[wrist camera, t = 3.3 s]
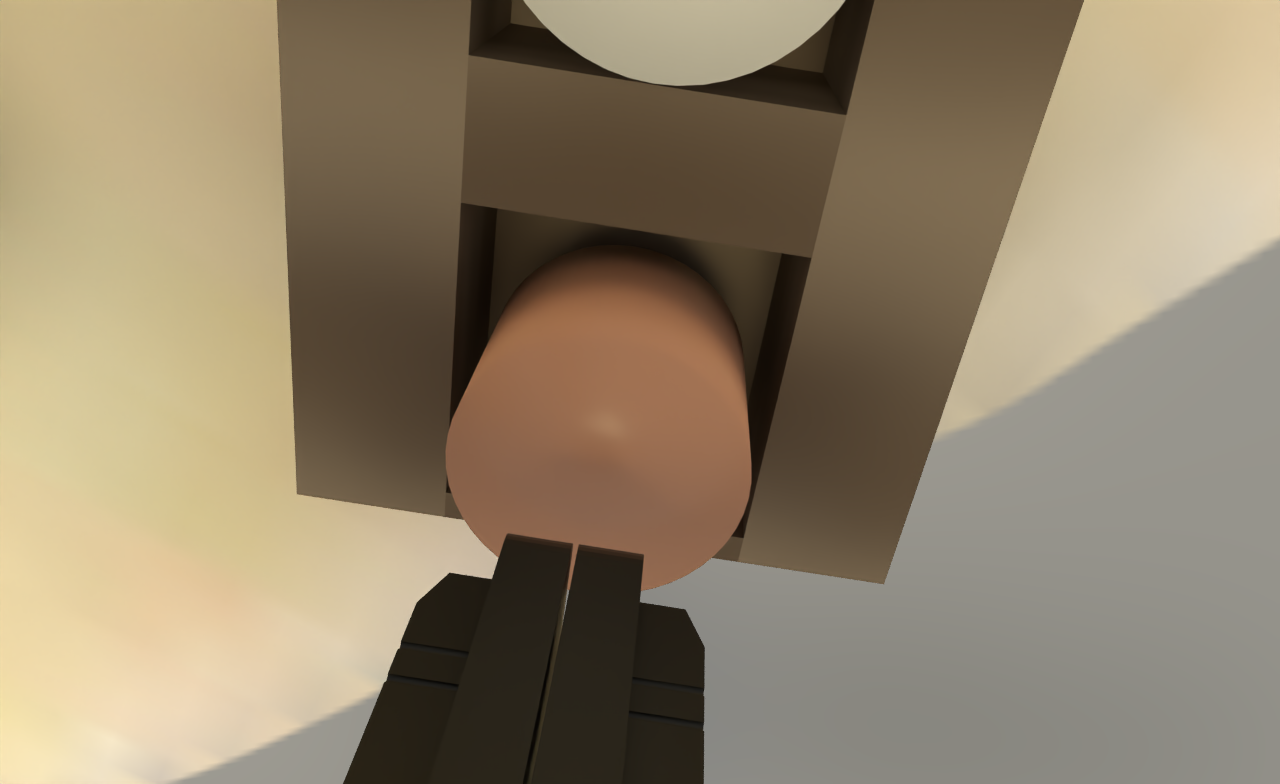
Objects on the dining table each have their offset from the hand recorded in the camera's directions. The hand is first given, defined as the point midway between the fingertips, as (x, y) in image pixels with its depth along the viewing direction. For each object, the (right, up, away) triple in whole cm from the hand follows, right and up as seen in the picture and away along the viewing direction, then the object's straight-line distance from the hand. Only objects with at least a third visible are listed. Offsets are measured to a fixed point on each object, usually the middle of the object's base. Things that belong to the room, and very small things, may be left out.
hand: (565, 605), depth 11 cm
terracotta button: (0, +3, +5) cm, 6 cm away
